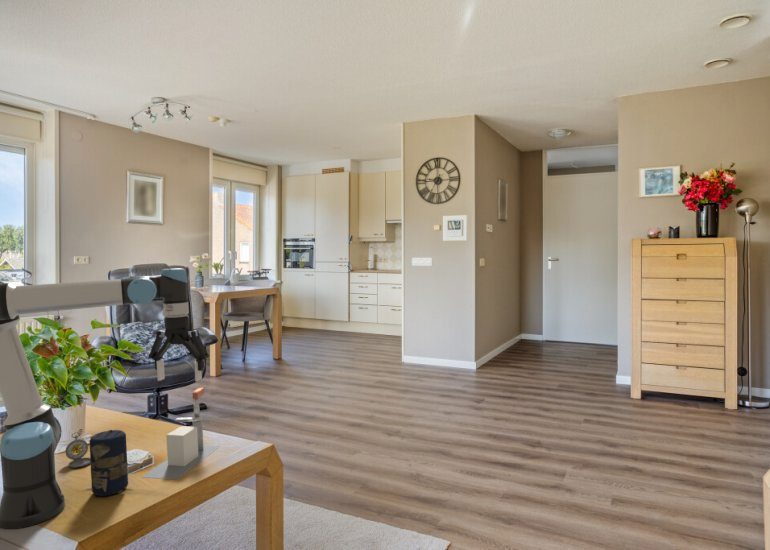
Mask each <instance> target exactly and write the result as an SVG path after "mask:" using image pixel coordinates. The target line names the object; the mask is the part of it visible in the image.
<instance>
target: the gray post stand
mask: <svg viewBox="0 0 770 550" xmlns="http://www.w3.org/2000/svg"><path fill="white" fill-rule="evenodd" d="M191 422H192V424H191V425H192V426H191V427H197V435H198V457H197V458H195V459H194V460H192V461H191V462H190V463H188V464H187V465H186V466H173V465H168V458H167V459H166V460H164V461H163V462H161V463H159V465H157V466H155V467H154V468H152V469H151V470H149V471H148V472H146V473H145V474H144V475H141V478H147V479H160V480H161V479H162V480H178V479H180V477H182V476H184V474H186V473H188V471H190V470H191V469H192V468H194V467H196V465H198V464H199V463H201V462H202V461H203V460H204V459H205V458H207V457H209V456H210V455H211V454H212V453H214V452H215V451H217V450H218V449H219V448H221V446H220V445H206V444H205V445H204V434H203V433H204V432H203V429H204V428H203V419H202V420H201V421H199V422H193V421H191Z"/></svg>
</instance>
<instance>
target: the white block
mask: <svg viewBox="0 0 770 550" xmlns="http://www.w3.org/2000/svg"><path fill="white" fill-rule="evenodd" d="M165 436H166V451H167V454H166V455H167V459H168V465H173V466H186V465H187V464H188V463H190V462H191V461H192V460H194V459H195V458H197V457H198V435H197V427H193V426H184V425H180V426H179V427H178V428H175V429H174V430H172V431H171V432H169V433H167V434H166V435H165Z"/></svg>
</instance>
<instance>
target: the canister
mask: <svg viewBox="0 0 770 550" xmlns="http://www.w3.org/2000/svg"><path fill="white" fill-rule="evenodd" d="M127 451H128V447H127V434H126V432H125V431H124V430H120V429H109V430H105V431H102V432H97V433H96V434H94V435H92V436H91V437H90V439H89V458H90V464H89V465H90V476H91V477H90V478H91V491H92V493H93V495H95V496H99V497H103V496H111V495H114V494H118V493H120V492H122V491H123V490H125V489H126V487H127V486H128V485H129V469H128V468H129V465H128V453H127Z"/></svg>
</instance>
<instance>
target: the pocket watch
mask: <svg viewBox="0 0 770 550" xmlns="http://www.w3.org/2000/svg"><path fill="white" fill-rule="evenodd" d="M77 434H78V435H77ZM73 435H74V436H73ZM80 436H81V433H80V432H77V431H76V432H74V433H72V434H71V438H72V439H74V440H72V441H70V442H69V443H68V444H67V446H66V448H65V456H66V457H67V458H68V459H69V460H72V461H70V462H68V468H76V469H77V468H82V467H86V466H88V465H90V457H84V456H86V454H87V453H88V450H89V445H88V443H87V442H86V441H85V440H84V439H79V438H80Z"/></svg>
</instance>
